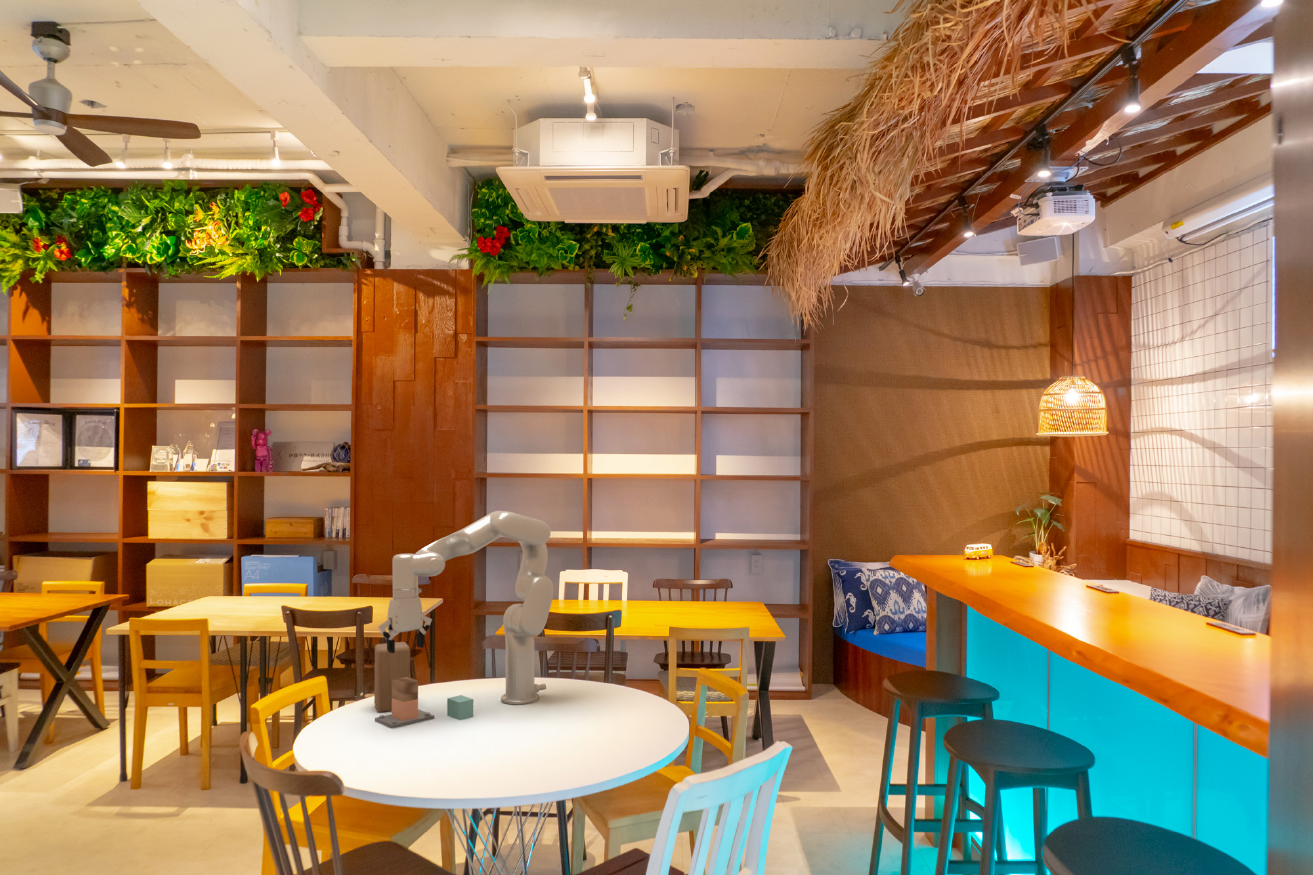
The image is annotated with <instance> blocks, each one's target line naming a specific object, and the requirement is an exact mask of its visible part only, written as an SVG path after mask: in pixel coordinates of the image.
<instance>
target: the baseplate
mask: <svg viewBox="0 0 1313 875" xmlns="http://www.w3.org/2000/svg"><path fill="white" fill-rule="evenodd" d="M430 720H435V715H434V714H432V713H431V712H426V711H424V710H421V709H419V698H418V699H415V700H411V701H406V702H401V701H399V700H396V699H393V698H392V711H391V713H390V714H387V715H384V714H380V715H378V716H377V717H374V722H375V723H378V724H379V725H383V726H384V727H387V728H390V729H396V728H401V727H404V726H405V727H406V726H410V725H413V724H418V723H421V722H426V721H430Z"/></svg>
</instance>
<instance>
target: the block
mask: <svg viewBox="0 0 1313 875" xmlns="http://www.w3.org/2000/svg"><path fill="white" fill-rule="evenodd" d="M404 677H408V678H411V648H410V647H409V644H408V643H406V642H405V641H399V642H397V641H396V642H395V652H394V653H390V652H388V650H387V642H386V643H377V644H375V645H374V692H373V693H374V700H373V701H374V702H373V703H374V705H375V707H376V710H377V711H378V712H379V713H385V712H392V680H394V679H399V678H404Z"/></svg>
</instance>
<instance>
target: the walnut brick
mask: <svg viewBox="0 0 1313 875" xmlns="http://www.w3.org/2000/svg"><path fill="white" fill-rule="evenodd" d="M392 698H393V699H396V700H399V701H401V702H406V701H411V700H415V699H418V700H419V680H417V679H414V678H411V677H410V678H408V677H404V678H399V679H394V680H392Z"/></svg>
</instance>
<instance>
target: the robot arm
mask: <svg viewBox="0 0 1313 875" xmlns="http://www.w3.org/2000/svg"><path fill="white" fill-rule="evenodd" d="M550 537H551V528H550V526H549V525H548V523H546V521H544V520H541V519H537V518H534V517H529V516H526V515H522V514H519V513H516V512H512V511H506V510H505V511H504V510H495V511H492V512H490V513H488V514H487V515H485V516H483V517H482V518H480V519H478V520H476V521H475V522H472V523H471V524H469V525H467V526H465V527H464V528H461V529H459V530H457V531H456V532H453V533H451V534H449V535H447V536H445V537H441V538H440V539H438V540H437V539H436V540H434V542H431V543H430V544H428V545H426V546H424V547H423V548H421V549H419V550H418V551H417V552H415V553H399V554H395V555H394V556H393V557H392V599H390V600H389V603H388V609H387V617H386V618H387V620H386V621H384V622H383V623H381V624H380V625H379V626H378V630H379V631H380V634H381V636H383V637H384V638H385V640H386V643H387V650H388V652H390V653H394V652H395V643H396V640H395V636H396V635H397V634H398V633H406V632H411V631H416V632H417V633H416V647H417V648H421V649H424V644H425V635H426V634H427V631H428V630H429V629H430V626H431V625H432V624H431V623H432V621H433V619H432V618H430V617H428V616H426V615H424V614H423V606H422V601H421V597H419V594H420V593H422V591H423V590H422V588H419V577H435V576H438V575H440V574H441V573H442V572H443V571H444V570H445V568H446V561H449V560H451V559H453V558H456V557H461V556H468V555H471V554H473V553H475V552H478V551H479V550H481V549H482V548H484V547H485V546H487V545H489V544H490V543H492V542H494V541H496V540H498V539H499V538H507V539H510V540H513V541H516V542H518V543H519V545H520V548H521V550H522V558H521V562H520V567H519V572H518V575H517V578H516V581H515V587H514V592H515V595H516V596H517V597H518V598H519V599H520V600H523V601H524V602H523V603H514V604H511V605H510V606H508V608H507V609H506V610H505V612H504V614H503V618H502V619H503V620H502V621H503V622H502V624H503V631H504V637H505V638H504V639H505V694H502V695H501V696H500V701H501V702H502V703H504V704H507V705H526V704H531V703H536V702H537V701H538V700H539V699H540V694H539V691H544V690H546V689H547V685H546V683H541V684H538V683H535V638H534V637H537V636H538V635H540V634H541V633H542V632H543V630H544V629H545V626H546V624H547V621H548V618H549V613H550V610H551V606H552V602H553V598H554V594H555V593H554V583H553V582H552V580H551V579H550V578H549V577H548V576H546V575H545V573H546V569H547V564H548V557H549V556H548V547H547V543H548V541H549V540H550ZM424 621H425V622H424ZM423 622H424V623H423ZM386 628H387V630H386ZM387 631H388V632H387Z"/></svg>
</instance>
